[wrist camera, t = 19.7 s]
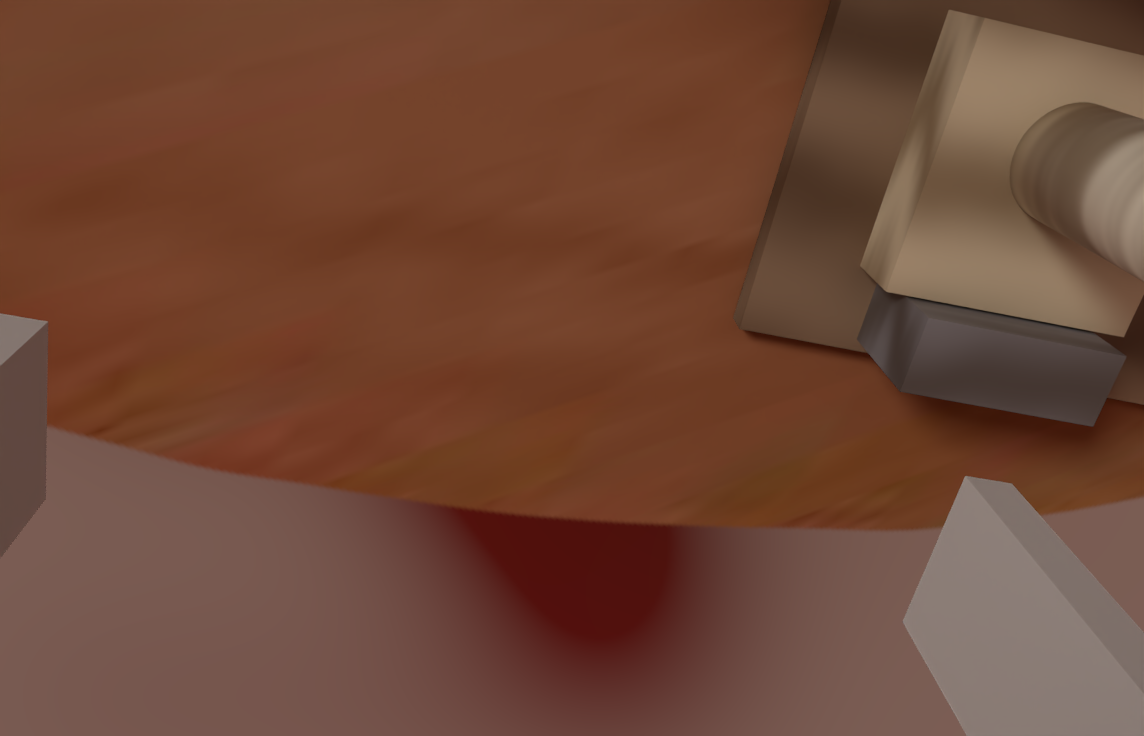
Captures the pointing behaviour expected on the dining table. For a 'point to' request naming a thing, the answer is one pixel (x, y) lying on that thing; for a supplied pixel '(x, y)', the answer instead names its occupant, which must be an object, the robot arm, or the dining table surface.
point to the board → (852, 202)
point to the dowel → (1086, 180)
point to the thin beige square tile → (998, 180)
